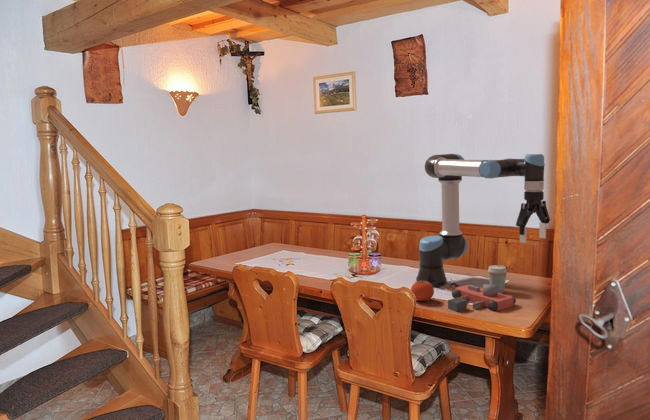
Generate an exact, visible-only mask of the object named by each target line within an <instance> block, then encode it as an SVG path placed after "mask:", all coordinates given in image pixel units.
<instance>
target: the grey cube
mask: <svg viewBox="0 0 650 420" xmlns="http://www.w3.org/2000/svg"><path fill="white" fill-rule="evenodd" d="M447 309H448V310H451V311H453V312H456V313H458V312H460V311H464V310H467V309H468V301H467V300H464V299H461V298H458V297H457V298H451V299H448V300H447Z"/></svg>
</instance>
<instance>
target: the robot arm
mask: <svg viewBox="0 0 650 420" xmlns="http://www.w3.org/2000/svg"><path fill="white" fill-rule="evenodd" d="M424 171H425V173H426V174H427V175H428V176H429V177H430V178H434V179H438V182H439V183H440V184H441V220H442V221H441V225H442V226H441V228H442V230H441V231H440V232H439V234H438V235H430V236H429V235H427V236H424V237H422V238H420V241H419V248H418V250H419V251H418V252H419V268H418V273H417V276H416V281H421V280H422V279H423V281H427V282H429V283H431V284H432V286H433V288H435V287H437V288H438V287H443V286H446V285H447V283H448V279H447V276H446V273H445V272H446V271H445V270H444V261H448V260H453V259H454V260H455V259H458V258H461V257H463V256H464V255H465V254H466V252H467V250H468V241H467V239H466V237H465V236H464V235H463V232H462V231H461V230H460V183H461V182H462V181H463V179H462V177H471V178H472V177H475V178H483V179H497V178H506V177H507V178H509V177H524V182H523V183H524V187H523V188H524V189H523V190H525V191H524V192H523V193H524V194H523V199H524V200H525V201H526V202H525V203H523V202H522V203H520V210H519V213H518V217H517V219H516V222H515V226H516V227H519V243H523V244H524V243H525V244H526V243H527V230H528V229H527V228H528V227H527V224H528V222H529V220H530V218H531V216H532V215H533V214H536V216H537V218H538V219H539V221H540V222H539V224H538V225H539V228H538V229H539V231H538V232H539V233H538V238H539V239H547V224H550V222H551V219H550V218H551V217H550V215H549V212H548V208H547V201H546V200H544V198H545V195H544V186H545V182H544V181H545V177H544V176H545V155H544V154H541V153H530V154H525V156H524V158H504V159H494V160H493V159H465V158H464V157H463V156H462V155H461V154H457V153H446V154H445V153H444V154H433V155H431V156H429V157H428V158H427V159H426V161H425V163H424ZM416 281H415V282H416Z"/></svg>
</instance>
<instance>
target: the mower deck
mask: <svg viewBox="0 0 650 420" xmlns="http://www.w3.org/2000/svg"><path fill="white" fill-rule="evenodd" d="M466 295H467V296H468V301H467V302H470V303H472V304H473V303H475V302H479V301H482V300H483V301H484V307H485V308H488V309H489V311H491V312H493V311H497V312H500V311H502V310H505V309H508V308H511V307H514V304H516V302H517V299H516V297H515V296H514V295H513V294H510V295H507V294H504V293H498V286H497V285H494V284H490V283H484V284H483V285H482V287H480V286H478V285H477V284H466V285H462V286H458V287H455V288H454V289H453V290H452V291H451V296H452V299H454V298H457V297H462V296H466Z"/></svg>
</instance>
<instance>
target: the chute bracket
mask: <svg viewBox="0 0 650 420" xmlns="http://www.w3.org/2000/svg"><path fill="white" fill-rule="evenodd" d="M458 298H461V299H464V300H467V302H469V301H468V296H467V295H466V296H462V297H458ZM483 307H484V301H483V300H482V301H479V302H475V303H472V309H473V310H478V309H481V308H483Z"/></svg>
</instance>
